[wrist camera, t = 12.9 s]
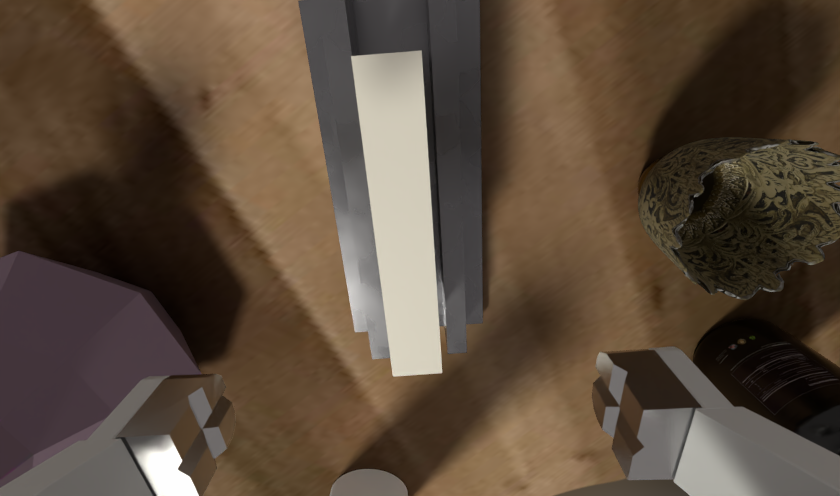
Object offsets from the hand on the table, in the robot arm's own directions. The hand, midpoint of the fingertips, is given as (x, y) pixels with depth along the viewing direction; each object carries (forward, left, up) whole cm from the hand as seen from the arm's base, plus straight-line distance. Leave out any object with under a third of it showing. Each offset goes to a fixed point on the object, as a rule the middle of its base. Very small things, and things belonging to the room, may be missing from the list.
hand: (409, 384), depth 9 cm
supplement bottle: (-24, +15, -17) cm, 33 cm away
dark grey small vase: (-16, +1, -17) cm, 23 cm away
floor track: (0, 0, -17) cm, 17 cm away
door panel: (0, 0, -16) cm, 16 cm away
